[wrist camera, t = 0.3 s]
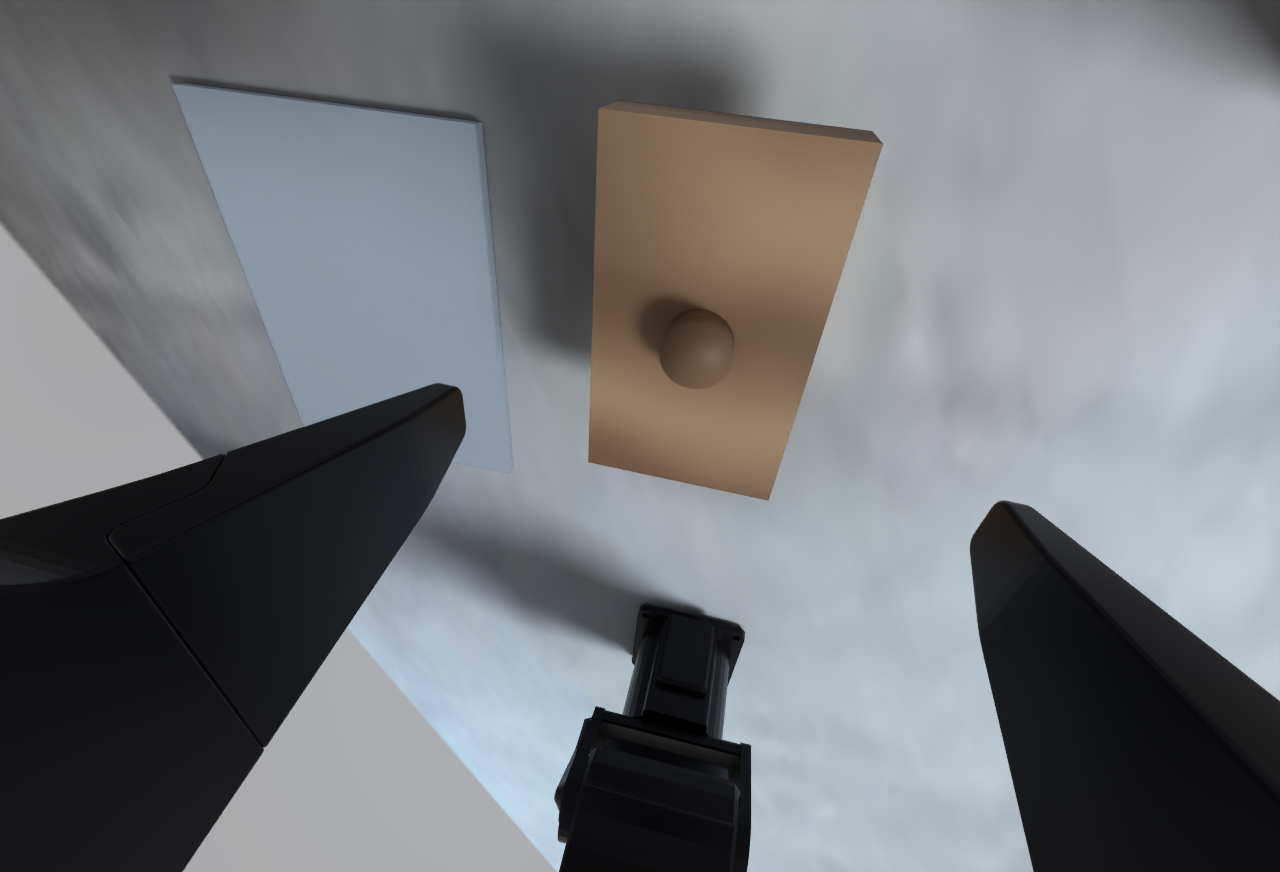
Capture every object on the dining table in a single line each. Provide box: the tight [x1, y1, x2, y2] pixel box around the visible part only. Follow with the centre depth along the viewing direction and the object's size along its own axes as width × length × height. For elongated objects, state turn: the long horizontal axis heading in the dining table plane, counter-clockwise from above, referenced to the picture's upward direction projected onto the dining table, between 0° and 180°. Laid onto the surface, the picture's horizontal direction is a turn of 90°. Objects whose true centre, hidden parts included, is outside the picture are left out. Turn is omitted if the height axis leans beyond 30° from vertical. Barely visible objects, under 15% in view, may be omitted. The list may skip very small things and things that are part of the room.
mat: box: [172, 83, 513, 474], centre depth 24 cm, size 16×12×1 cm
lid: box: [588, 100, 883, 500], centre depth 16 cm, size 11×6×3 cm, turn 175°
